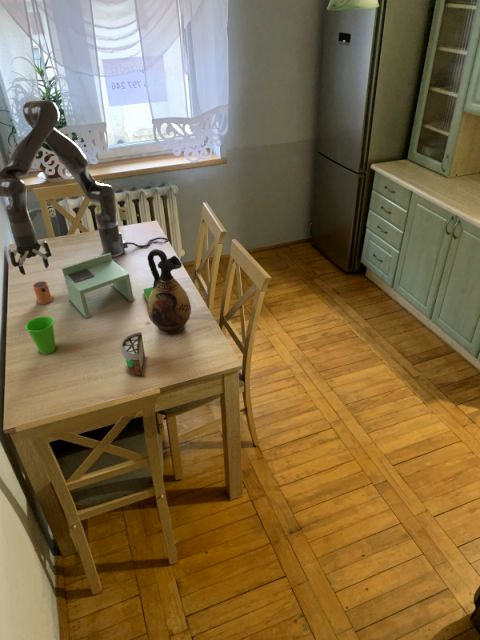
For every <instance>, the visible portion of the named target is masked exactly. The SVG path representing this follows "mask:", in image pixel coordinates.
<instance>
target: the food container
mask: <svg viewBox="0 0 480 640" xmlns="http://www.w3.org/2000/svg"><path fill="white" fill-rule="evenodd" d="M120 353H121V355H122V356H123V357H124V359H125V363H126V365H127V369H128V372H129V373H130V375H132V376H135V377H144V370H145V363H146V354H145V347H144V341H143V334H142V331H139V332H134V333H132V334H130V335H128V336H126V337H125V338H124V339H123V340H122V342H121V345H120Z"/></svg>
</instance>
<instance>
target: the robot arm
mask: <svg viewBox="0 0 480 640" xmlns="http://www.w3.org/2000/svg"><path fill="white" fill-rule="evenodd" d="M22 113H23V117H24V119H25V121H26V123H27V124H28V125H29V126H30V128H31V130H30V131H29V132H28V134H27V135H26V136H25V137H23V139H22V140H21V141H20V142H18V144H17V145H16V146H15V148H14V149H13V151H12V153H11V155H10V158H9V161H8V162H7V164H6V165H4V167H3V168H2V169H1V170H0V197H2V198H8V199H11V203H9V204H7V205H6V206H5V212H6V216H7V219H8V222H9V227H10V230H11V231H10V232H11V234H12V237H13V239H14V243H15V246H16V249H9V250H8V252H7V253H8V255H9V259H10V263H11V265H12V266H13V267H14V268H16V267H18V271H19V273H20V274H21V275H23V276H26V271H25V267H24V263H25V261H26V259H30V258H34V257H36V256H39V257H41V260H42V263H43V266H44V268H45V269H48V268H49V267H50V264H49V260H48V258H49V257H52V251H51V249H50V247H49V244H48V242H47V240H42V241H41V242H39V241H38V238H37V235H36V230H35V227H34V225H33V222H32V219H31V216H30V214H29V211H28V190H27V185H26V184H25V182H24V180H22V179H21V178H25V177H28V174H29V173H30V171H31V169H32V167H33V165H34V162H35V159H36V157H37V155H38V154H39V152H40V150H41V149H42V147H43V145H44V144H45V143H46V145H47V146H48V148H50V149H51V151H52V152H53V153H54V155H55V156H56V157H57V158H58V160H59V161H60V163H62V165H63V167H64V168H65V169H66V170H67V171H68V173H69V174H70V175H71V176H72V177H73V179H74V180H75V181H76V183H77V184H78V185H79V187H80V189H81V190H82V192H83V194H84V195H85V197H86V198H87V199H88V201H89V202H90V203H92V204H94V205H98V206H100V210H99V211H97V212H96V213H95V215H94V216H95V222H96V226H97V231H98V235H99V240H100V245H101V249H102V255H105V254H108V253H111V256H112V258H115V257H116V258H117V257H119V256H121V255H122V254H124V253H125V252H126V251H125V249H127V248H129V246H128V245H132V246H135V247H137V248H146V247H148V246H150V243H151V242H153V241H157V240H164V241H167V242H170V239H169V238H167V237H161V236H160V237H159V236H158V237H154V238H152V239H149V240H148V241H147V243H146V244H143V245H140V244H137V243H135V242H128V241H126V240H125V239H123V234H122V233H121V232H120V227H119V222H118V217H117V216H118V215H117V212H118V207H117V200H116V193H115V190H114V188H113V186H112V185H109V184H106V183H105V184H104V183H100V182H97V180H96V179H95V178H94V177H93V176H92V175H91V173H90V170H89V162H88V158H87V157H86V155H85V153H83V151H82V149H81V148H80V147H79V146H78V145H77V143H75V141H73V140H71V139H70V138H69V137H67V136H66V135H64V134H63V133H61V132H60V131H59V130H58V129H57V128H56V127H57V125H58V123H59V120H60V111H59V108H58V106H57V105H56V104H55V102H53V101H52V100H48V99H47V100H45V99H44V100H43V99H42V100H41V99H39V100H30V101H26V102H25V103H24V104H23V106H22ZM41 247H42V248H43V249H44V251H45V253H43V252H42V251H40V249H41ZM17 254H19V255H18V259H16V256H17Z"/></svg>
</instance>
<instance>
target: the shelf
mask: <svg viewBox="0 0 480 640" xmlns="http://www.w3.org/2000/svg"><path fill="white" fill-rule="evenodd" d="M61 271H62V274H63V279H64V282H65V286H66V289H67V293H68V296H69V300H70V302H71V303H72V304H73V305H74V306H75V308H76V309H77V310H78V312H80V313H81V315H83V316H84V318H85V319H88V318H90V317H91V314H90V310H89V307H88V301H87V298H86V295H85V294H87V293H89V292H92V291H95V290H98V289H101V288H104V287H107V286H110V285H112V286H113V288H115V289H116V290H117V292H119V293H120V294H121V295H122V296H123V297H125V298H126V299H127V300H128V301H129V302H132V301H133V302H134V301H135V299H134V294H133V288H132V282H131V277H130V273H128V271H126V270H125V269H124V268H123V267H121V266H120V265H119V264H117V262H115V261H114V260H113V257H112V256H111V253H108V254H105V255H103V254H101V255H99V256H96V257H92V258H89V259H86V260H82V261H79V262H76V263H73V264H71V265H67V266H63V267H61Z"/></svg>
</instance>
